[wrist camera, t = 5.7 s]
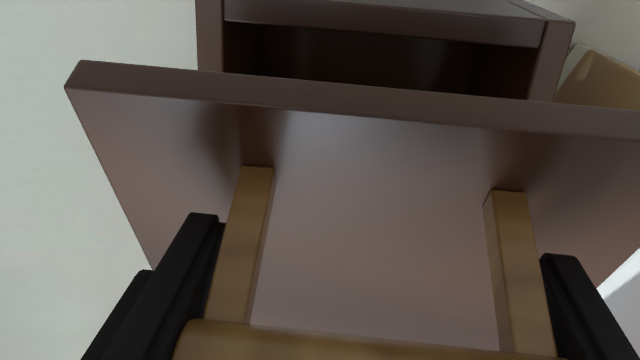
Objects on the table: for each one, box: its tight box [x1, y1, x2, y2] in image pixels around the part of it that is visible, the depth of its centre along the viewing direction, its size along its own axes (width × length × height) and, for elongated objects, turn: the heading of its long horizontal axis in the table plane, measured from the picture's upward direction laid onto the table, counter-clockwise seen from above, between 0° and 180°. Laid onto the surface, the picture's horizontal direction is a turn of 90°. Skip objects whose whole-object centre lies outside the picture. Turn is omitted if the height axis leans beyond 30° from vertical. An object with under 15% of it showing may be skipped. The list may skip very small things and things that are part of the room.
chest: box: [195, 0, 576, 103], centre depth 23 cm, size 16×12×9 cm
